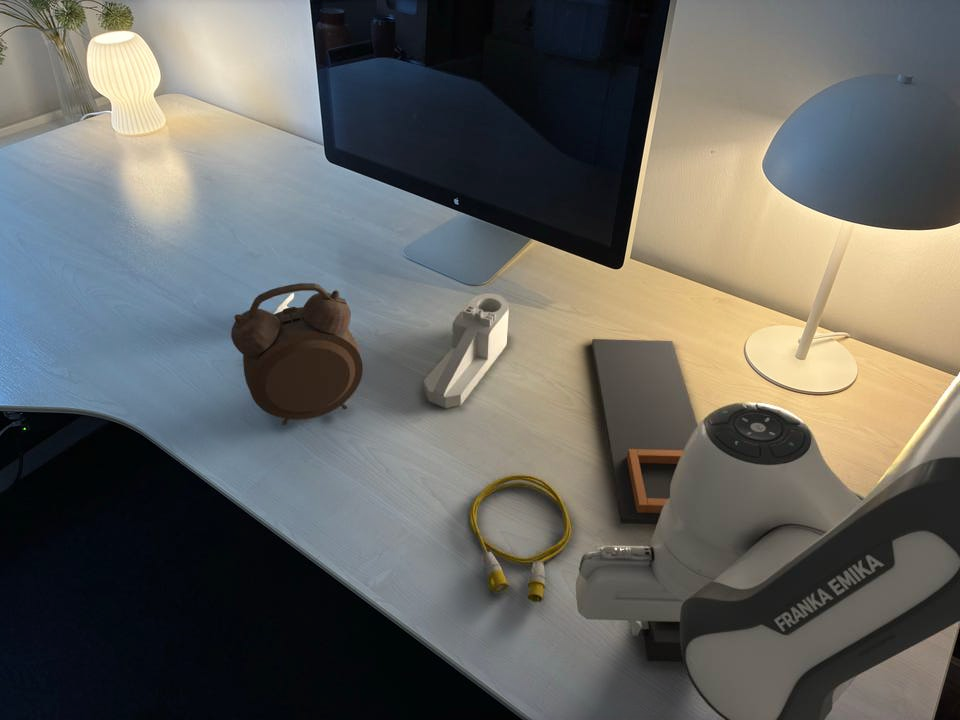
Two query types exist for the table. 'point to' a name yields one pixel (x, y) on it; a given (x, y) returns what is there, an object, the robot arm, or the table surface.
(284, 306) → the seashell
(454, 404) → the angled bracket with hole
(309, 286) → the alarm clock
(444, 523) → the table surface
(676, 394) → the base pad
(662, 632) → the black block
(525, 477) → the extension cord
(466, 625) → the table surface
